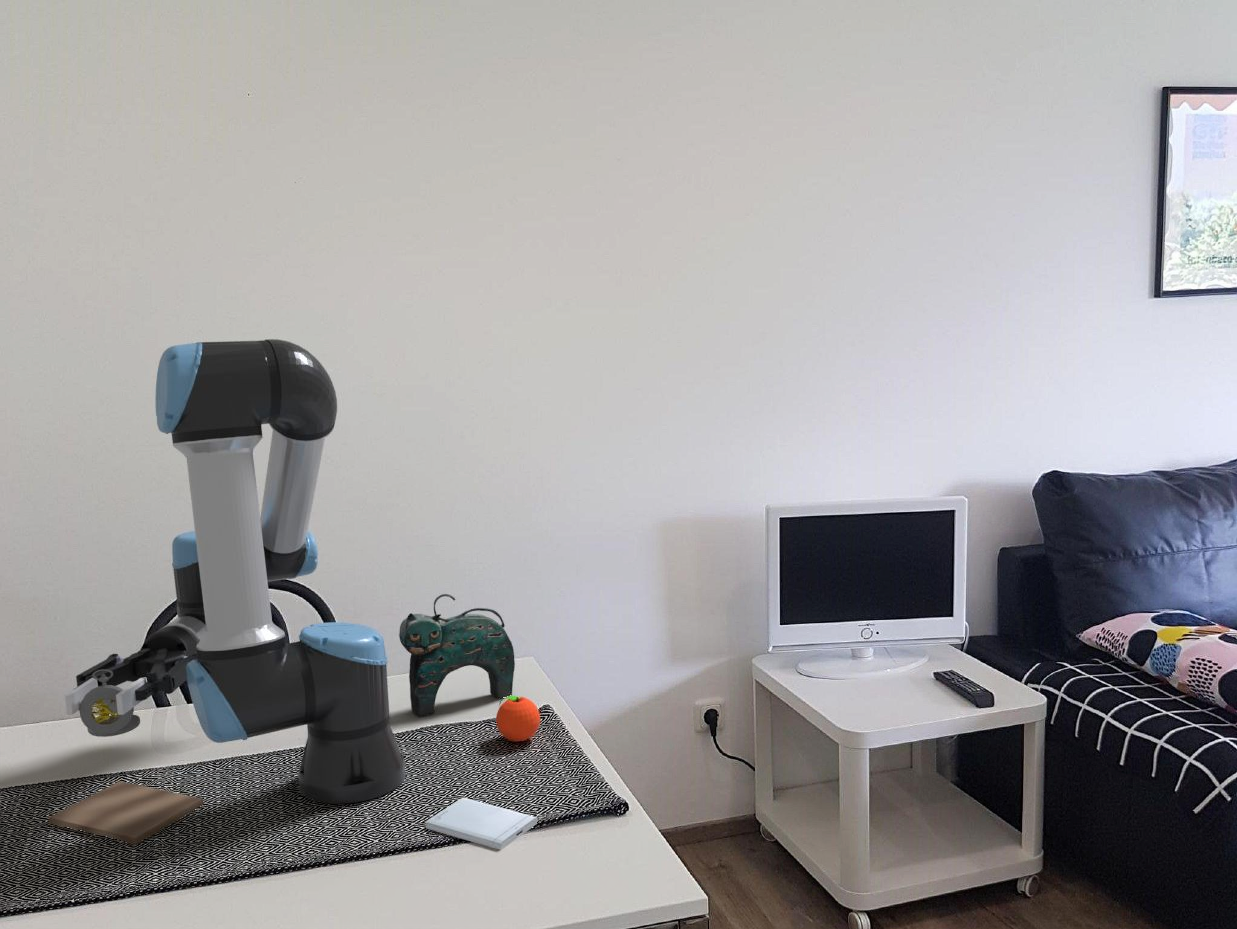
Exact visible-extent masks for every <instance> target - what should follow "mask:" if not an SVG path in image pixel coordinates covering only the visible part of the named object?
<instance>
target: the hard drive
mask: <svg viewBox="0 0 1237 929" xmlns="http://www.w3.org/2000/svg"><path fill="white" fill-rule="evenodd" d="M537 822H538V823H539V821H538V817H537V816H534V815H530V814H525V813H522V812H518V811H515V810H512V809H511V810H510V809H507V808H503V807H499V806H497V805H496V806H495V805H492V804H489V803H485V802H481V801H478V800H474V799H471V798H466V797H462V798H460V799H459V800H457V801H455V802H453V803H451V805H449V806H448V807H445V809H443V810H442V811H440V812H438V813H436V814H435V815H433V816H432V817H430V818H429V819H428V820H427V821H426V822H425V829H427V830H430V831H434V832H437V833H441V834H444V835H448V836H451V837H454V838H458V839H461V840H465V841H468V842H469V841H470V842H472V843H476V844H479V845H481V846H486V847H489V848H494V849H496V850H499V851H502V850H504V849H505V848H506V847H508V846H509V845H510V844H511V843H513V842H514V841H516V839H519V837H521V836H522V835H524V834H525V833H526V832H528V831H529V830H531V828H533V827H534V826H536V825H537V824H538V823H537Z"/></svg>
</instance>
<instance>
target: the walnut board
mask: <svg viewBox="0 0 1237 929" xmlns="http://www.w3.org/2000/svg"><path fill="white" fill-rule="evenodd" d="M203 804H204V798H200V797H195V796H191V795H186V794H181V793H177V792H173V791H168V790H164V789H158V788H154V787H150V786H144V785H140V784H135V783H132V782H131V783H130V782H127V781H126V782H125V781H122V780H120V781H118V782H115V783H113V784H112V785H110V786H107V787H105V788H104V789H102V790H100V791H98V792H96V793H93V794H92V795H90V796H88V797H86V798H84V799H82V800H80V801H78V802H76V803H73V804H72V805H70V806H68V807H66V808H63V809H62V810H59V811H58V812H56V813H54V814H52V815H50V816H48V817H47V818H48V824H49V823H50V824H49V825H51V824H55V825H57V826H56V827H59V826H62V827H61V828H63V827H69V828H72V829H77V830H82V831H85V832H88V833H93V834H97V835H102V836H107V837H110V838H114V839H117V840H121V841H125V842H128V843H130V844H129V845H133V844H134V845H133V846H136V845H138V844H139V842H140V843H141V842H143V841H145V840H147V839H148V838H150V837H152V836H154V835H155V834H157V833H159V832H160V831H162V830H164V829H166V828H167V827H169V826H171V825H172V823H173V824H174V823H176V822H177V820H178V821H179V819H180V818H181V819H183V818H185V817H186V816H185V815H187V816H188V815H189V814H188V813H190V812H192V811H193V810H195V809H197V808H198V807H200V806H202V805H203ZM202 807H203V806H202ZM200 808H201V807H200ZM197 810H198V809H197ZM195 811H196V810H195ZM193 812H194V811H193ZM193 812H192V813H193ZM190 814H191V813H190ZM184 816H185V817H184ZM182 817H183V818H182ZM181 819H180V820H181ZM170 824H171V825H170ZM55 825H54V826H55ZM165 827H166V828H165ZM88 833H87V834H88ZM153 834H154V835H153ZM149 836H150V837H149ZM146 838H147V839H146ZM144 839H145V840H144ZM142 840H143V841H142ZM128 843H127V844H128Z"/></svg>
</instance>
